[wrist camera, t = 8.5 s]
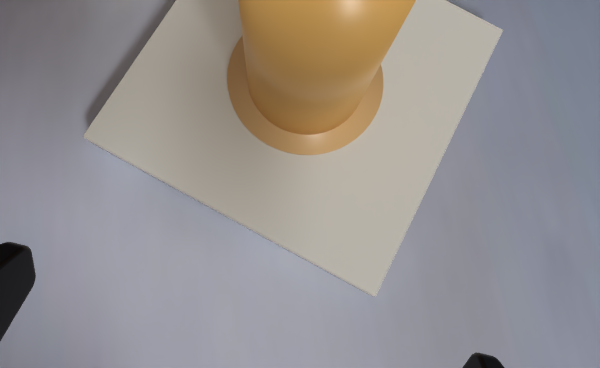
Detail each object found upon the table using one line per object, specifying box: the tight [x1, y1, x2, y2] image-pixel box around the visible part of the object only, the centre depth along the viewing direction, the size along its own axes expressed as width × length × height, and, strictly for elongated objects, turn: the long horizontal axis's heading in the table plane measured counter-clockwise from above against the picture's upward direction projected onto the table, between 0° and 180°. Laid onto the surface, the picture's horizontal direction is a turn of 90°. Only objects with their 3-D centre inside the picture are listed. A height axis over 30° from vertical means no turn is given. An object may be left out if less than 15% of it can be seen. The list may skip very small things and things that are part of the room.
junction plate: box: [83, 0, 503, 297], centre depth 20 cm, size 14×14×1 cm
